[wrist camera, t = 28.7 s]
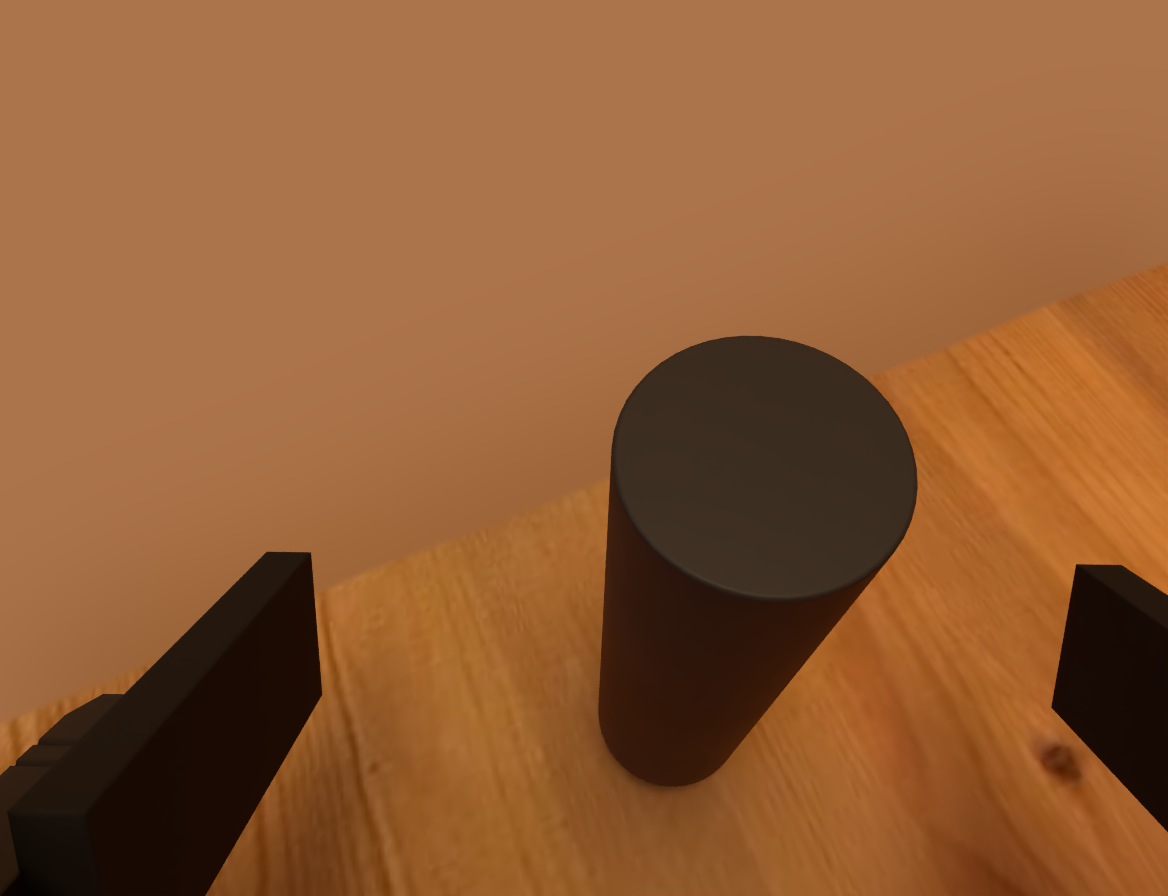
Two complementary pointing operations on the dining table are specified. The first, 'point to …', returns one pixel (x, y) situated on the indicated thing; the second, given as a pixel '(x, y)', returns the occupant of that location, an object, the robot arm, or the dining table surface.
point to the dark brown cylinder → (737, 540)
